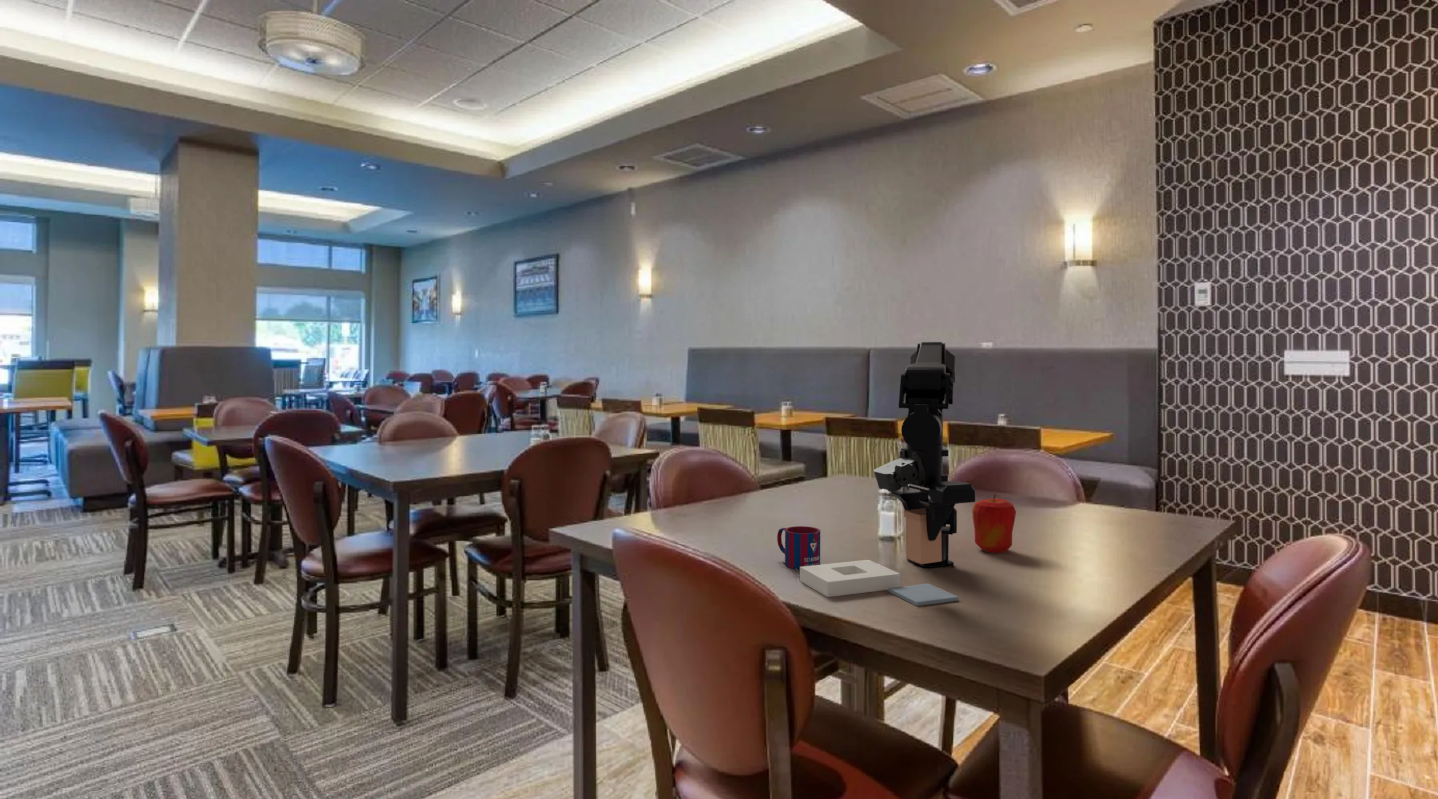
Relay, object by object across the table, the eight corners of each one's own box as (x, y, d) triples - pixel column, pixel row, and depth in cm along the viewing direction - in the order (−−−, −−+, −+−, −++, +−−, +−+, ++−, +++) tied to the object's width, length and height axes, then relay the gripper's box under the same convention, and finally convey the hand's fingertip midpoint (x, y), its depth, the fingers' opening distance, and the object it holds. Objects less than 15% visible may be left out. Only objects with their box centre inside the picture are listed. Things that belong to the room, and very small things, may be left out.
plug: (926, 554, 125) (926, 507, 124) (943, 561, 121) (942, 512, 120) (904, 558, 123) (904, 510, 123) (920, 564, 119) (920, 515, 119)
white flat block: (868, 573, 136) (868, 559, 136) (900, 588, 126) (900, 573, 126) (799, 580, 131) (799, 566, 131) (827, 597, 121) (827, 582, 121)
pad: (928, 586, 127) (928, 583, 127) (958, 600, 120) (958, 596, 120) (888, 591, 124) (888, 588, 124) (917, 606, 117) (917, 602, 117)
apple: (988, 543, 158) (989, 489, 158) (1024, 551, 152) (1025, 494, 151) (963, 549, 154) (963, 493, 153) (999, 558, 147) (999, 498, 146)
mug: (799, 571, 137) (799, 535, 136) (767, 559, 145) (767, 525, 145) (827, 566, 140) (827, 531, 140) (794, 555, 149) (795, 521, 148)
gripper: (851, 439, 127) (851, 529, 128) (917, 451, 109) (916, 555, 110) (906, 437, 131) (905, 524, 131) (978, 448, 113) (977, 549, 114)
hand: (923, 537), depth 122 cm, fingers closed on plug, 4 cm apart
